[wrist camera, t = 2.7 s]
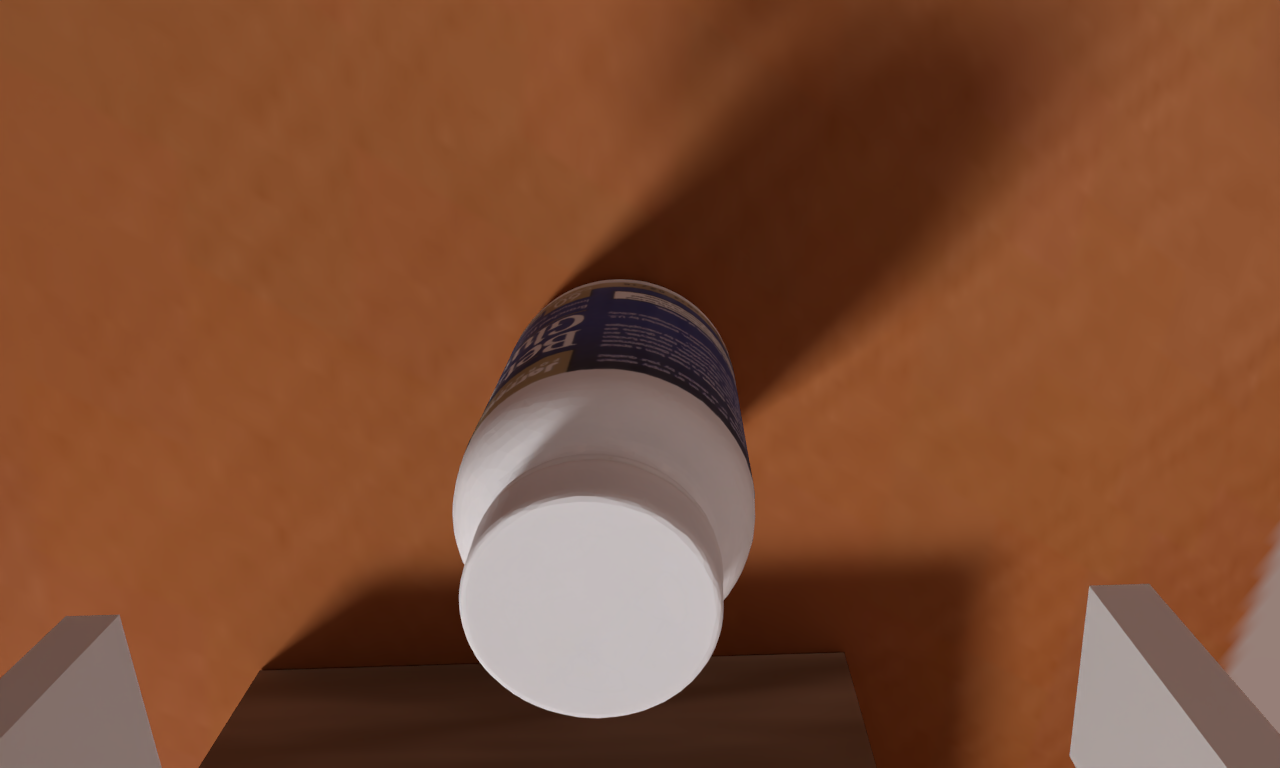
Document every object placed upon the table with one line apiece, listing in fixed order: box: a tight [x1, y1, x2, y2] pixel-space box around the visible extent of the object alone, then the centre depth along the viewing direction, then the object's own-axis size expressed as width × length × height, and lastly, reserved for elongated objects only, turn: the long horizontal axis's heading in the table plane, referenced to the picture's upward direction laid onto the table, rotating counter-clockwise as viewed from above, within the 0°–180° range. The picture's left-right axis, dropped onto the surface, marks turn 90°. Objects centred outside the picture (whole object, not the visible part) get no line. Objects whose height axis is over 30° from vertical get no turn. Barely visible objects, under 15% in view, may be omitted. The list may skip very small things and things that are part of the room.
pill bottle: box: [453, 279, 755, 718], centre depth 19 cm, size 5×5×10 cm
